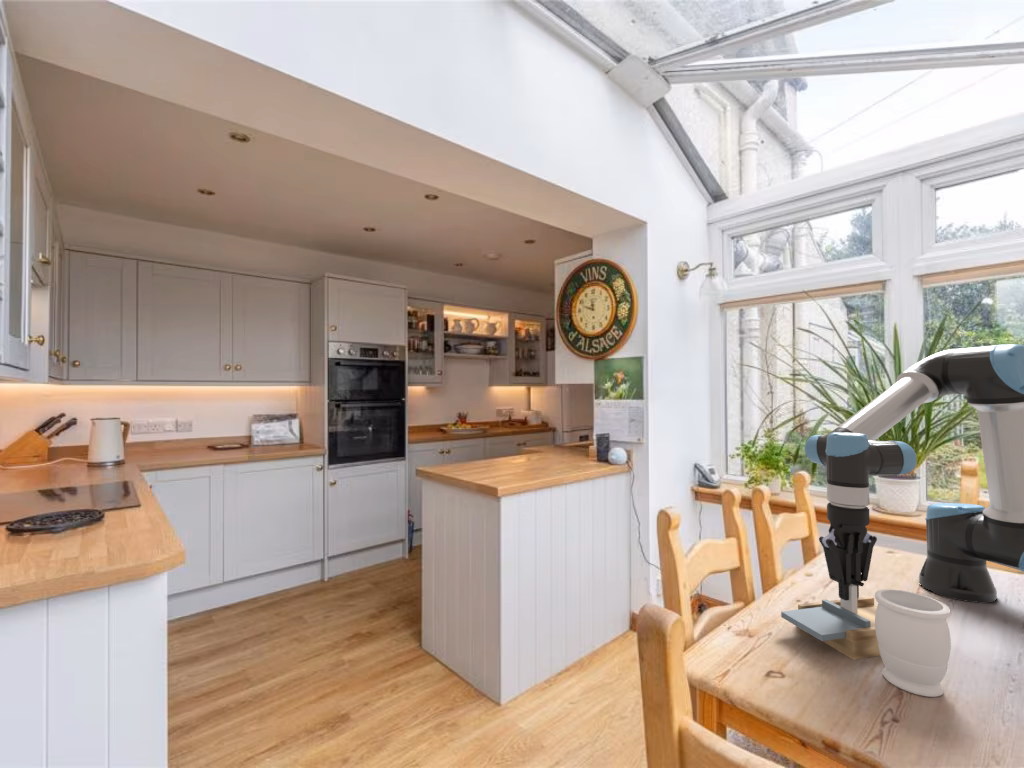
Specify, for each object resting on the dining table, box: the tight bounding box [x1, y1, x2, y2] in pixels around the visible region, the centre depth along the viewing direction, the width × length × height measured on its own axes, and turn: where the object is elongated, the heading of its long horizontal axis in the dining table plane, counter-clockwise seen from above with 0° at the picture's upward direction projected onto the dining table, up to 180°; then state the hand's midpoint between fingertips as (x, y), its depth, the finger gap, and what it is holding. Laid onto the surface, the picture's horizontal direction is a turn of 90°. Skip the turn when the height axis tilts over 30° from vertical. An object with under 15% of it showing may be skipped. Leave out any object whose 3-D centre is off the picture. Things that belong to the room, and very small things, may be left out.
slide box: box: [797, 596, 881, 660], centre depth 103 cm, size 20×14×5 cm
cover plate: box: [780, 598, 871, 642], centre depth 100 cm, size 12×10×3 cm
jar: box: [874, 588, 952, 698], centre depth 86 cm, size 11×10×15 cm
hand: (848, 613), depth 102 cm, fingers closed
